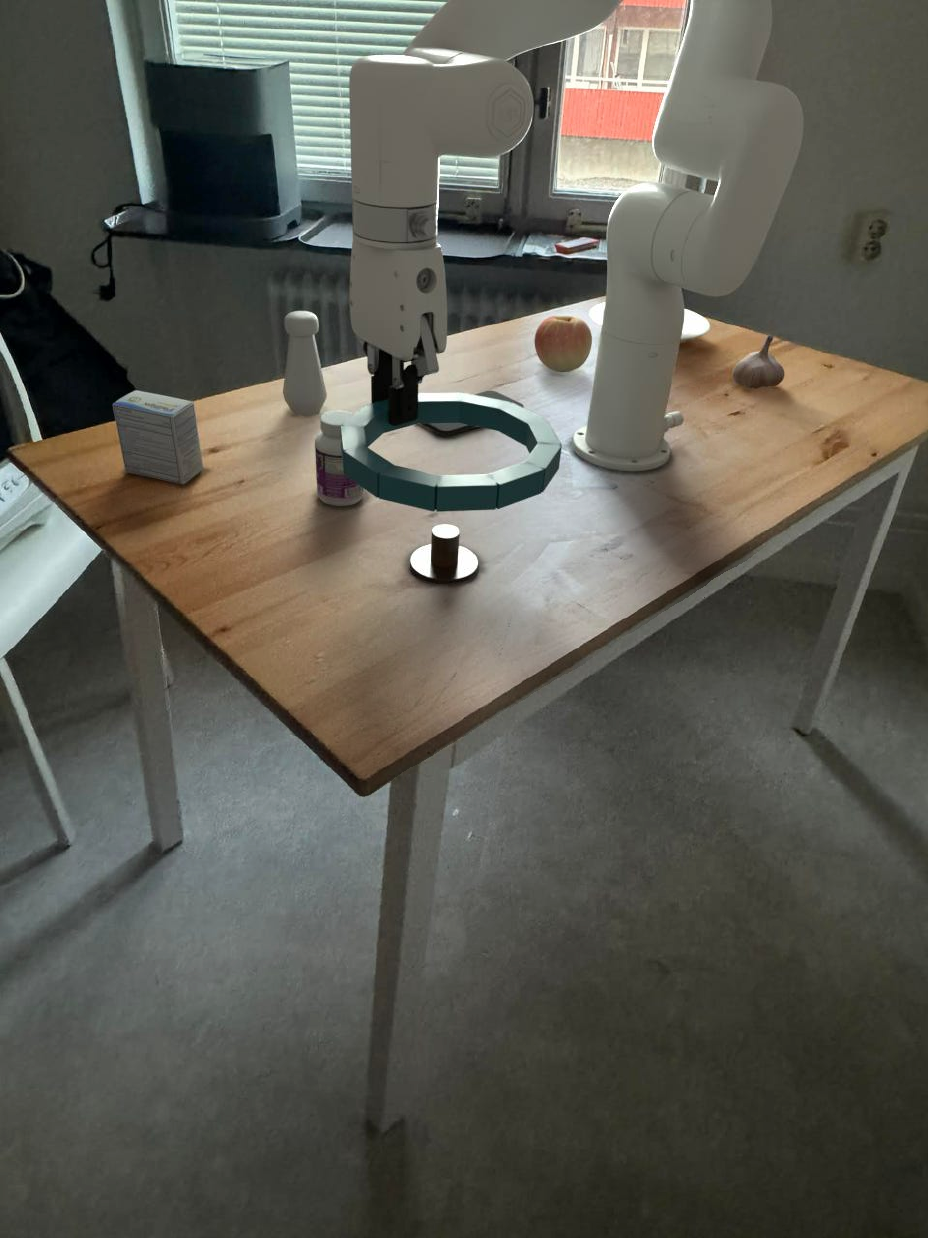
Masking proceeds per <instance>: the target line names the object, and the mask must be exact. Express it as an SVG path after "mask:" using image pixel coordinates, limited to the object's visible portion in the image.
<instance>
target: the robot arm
mask: <svg viewBox="0 0 928 1238" xmlns="http://www.w3.org/2000/svg"><path fill="white" fill-rule="evenodd" d="M623 1H624V0H447V1H446V2H445V3H444V4H443V5H442V6H441V7H440V8H439V9H438V10H437V11H436V12H435V14H433V16H432V17H431V18H430V19H429V20H428V22H426V24H425V25H424V26H423V27H422V28H421V29H420V31H419V32H418V33H416V35H415V36H414V38H413V39H412V40H411V41H410V42H409V44H408V46H406V48H405V49H404V50H403V52H402V54H401V55H398V54H396V55H394V54H373V55H365V56H362V57H359V58H358V59H357V60H355V61H354V62H353V64H352V66H351V68H350V71H349V77H348V78H349V79H348V80H349V81H348V91H349V92H348V93H349V94H348V98H349V136H350V137H349V138H350V140H349V141H350V176H351V177H350V179H351V180H350V181H351V184H350V185H351V212H352V213H351V218H352V243H351V252H350V268H349V292H348V293H349V317H350V325H351V330H352V331H353V335H354V337H355V338H356V340H357V341H358V342H359V343H360V345H361V346H362V349H363V352H364V353H365V355H366V358H367V359H366V360H367V361H366V362H367V372H368V373H369V375H370V392H371V393H370V398H371V400H370V401H371V403H375V402H379V401H382V400H386V399H389V424H391V425H392V426H397V425H401V424H404V423H408V422H411V421H415V420H416V419H417V418H418V393H419V385H420V384H422V383H423V380H424V377H425V376H429V375H434V374H437V373H439V371H440V365H439V361H438V357H437V355H440V354H443V353H445V352H446V349H447V343H448V342H447V340H448V303H447V302H448V299H447V281H446V270H445V263H444V257H443V256H444V255H443V250H442V245H441V244H440V243H438V219H439V217H438V215H439V192H440V191H439V190H440V189H439V187H440V158H441V157H442V156H443V155H450V156H451V155H452V156H462V157H463V156H464V157H470V158H479V159H489V158H490V159H491V158H496V157H500V156H502V155H504V154H507V153H509V152H510V151H511V150H513V149H515V148H516V147H517V146H518V145H519V144H520V143H521V142H522V141H523V140H524V138H525V136H527V133H528V132H529V130H530V128H531V124H532V122H533V118H534V105H535V104H534V95H533V91H532V89H531V86H530V84H529V82H528V80H527V78H526V76H524V74H523V73H522V72H521V71H520V70H519V69H518V68H517V67H515V66H514V65H513V64H511V63H510V62H508V61H509V60H511V59H513V58H515V57H516V56H519V55H521V54H523V53H525V52H528V51H531V50H533V49H537V48H541V47H543V46H548V45H552V44H556V43H560V42H563V41H566V40H570V39H573V38H575V37H578V36H580V35H583V34H585V33H587V32H590V31H592V30H594V29H596V28H598V27H600V26H601V25H603V24H604V23H605V22H606V21H607V20H608V19H609V18H610V17H611V16H612V15H613V14H614V12H615V11H616V9H617V8H618V7H619V6H620V5H621V4H622V3H623ZM772 28H773V6H772V0H690V8H689V15H688V21H687V24H686V28H685V31H684V34H683V37H682V41H681V45H680V48H679V51H678V54H677V56H676V59H675V62H674V66H673V69H672V71H671V74H670V78H669V81H668V84H667V87H666V90H665V93H664V95H663V99H662V102H661V105H660V108H659V112H658V114H657V117H656V121H655V125H654V129H653V134H652V149H653V153H654V156H655V157H656V159H657V160H658V161H659V163H661V164H662V165H663V166H664V167H665V166H666V167H668V168H670V169H673V170H675V171H678V172H681V173H685V174H688V175H689V176H694V177H697V178H701V179H705V180H708V181H709V180H710V181H713V182H718V185H717V187H716V191H715V194H714V195H713V194H709V193H705V192H700V191H698V190H695V189H691V188H686V187H685V188H683V187H679V186H675V185H671V184H666V183H662V182H659V181H651V182H650V181H648V182H643V183H638V184H636V185H633V186H632V187H631V186H630V188H628V189H627V190H625V191H624V192H623V193H622V194H621V195H620V196H619V198H618V199H617V200H616V201H615V203H614V205H613V206H612V209H611V211H610V214H609V217H608V220H607V226H606V236H605V237H606V239H605V241H606V244H605V245H606V265H607V271H606V273H607V274H606V275H607V277H606V292H605V301H604V303H605V308H604V316H603V322H602V326H601V328H600V329H601V330H600V335H599V336H600V337H599V340H598V341H599V343H598V349H597V355H596V361H595V367H594V368H595V369H594V375H593V383H592V390H591V395H590V403H589V409H588V414H587V415H588V416H587V421H586V422H587V423H586V425H585V426H583V427H581V428H579V429H578V430H576V431H575V432H574V433H573V437H572V444H571V445H572V449H573V451H574V452H575V453H576V455H578V456H579V457H580V458H582V459H583V460H585V461H587V462H588V463H591V464H593V465H595V466H598V467H602V468H605V469H608V470H609V469H610V470H614V471H622V472H643V471H650V470H654V469H657V468H659V467H662V466H664V464H666V463H667V462H668V460H669V459H670V455H671V446H670V444H669V442H668V441H667V440H666V439H665V435H666V433H667V432H668V431H669V430H670V429H673V428H675V427H678V426H681V425H683V423H684V415H683V413H682V412H681V411H679V410H677V411H673V412H669V413H667V408H668V403H669V399H670V393H671V388H672V383H673V379H674V374H675V369H676V364H677V359H678V356H679V355H678V353H679V349H680V344H681V343H680V340H681V336H682V331H683V325H684V315H685V311H684V309H685V301H684V300H685V299H684V295H683V290H682V289H684V290H687V291H690V292H693V293H697V294H700V295H703V296H707V297H713V298H714V297H716V298H717V297H725V296H727V295H730V294H732V293H733V292H735V291H736V290H737V289H738V288H739V287H740V286H741V285H742V284H743V283H744V282H745V281H746V279H747V278H748V276H749V275H750V273H751V272H752V270H753V267H754V266H755V264H756V263H757V260H758V258H759V256H760V253H761V251H762V248H763V246H764V243H765V241H766V239H767V236H768V233H769V231H770V229H771V226H772V223H773V221H774V218H775V216H776V213H777V211H778V208H779V207H780V204H781V202H782V199H783V196H784V194H785V191H786V189H787V186H788V184H789V181H790V178H791V177H792V174H793V172H794V169H795V166H796V164H797V160H798V157H799V155H800V151H801V147H802V141H803V138H804V137H803V136H804V126H805V125H804V123H805V122H804V111H803V107H802V104H801V102H800V100H799V98H798V97H797V94H796V93H794V92H793V91H792V90H791V89H790V88H788V87H786V86H784V85H782V84H779V83H775V82H772V81H771V82H770V81H765V80H757V77H758V74H759V71H760V68H761V64H762V62H763V58H764V55H765V52H766V49H767V47H768V45H769V41H770V37H771V33H772ZM409 362H410V364H408V365H406V367H405V363H409ZM371 403H370V404H371ZM666 413H667V414H666Z"/></svg>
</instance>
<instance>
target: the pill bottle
mask: <svg viewBox="0 0 928 1238" xmlns="http://www.w3.org/2000/svg"><path fill="white" fill-rule="evenodd" d="M354 414H355V413H353V412H352V411H347V410H342V409H341V410H340V409H337V410H329V411H327V412H324V413H322V414H321V415H320V417H319V429H320V432H318V434H316V437H315V439H314V453H315V473H316V475H315V476H316V477H315V478H316V491H317V496H318V498H319V500H321V502H323V503H324V504H326V505H329V506H335V507H348V506H349V507H350V506H352V505H355V504H357V503H358V502H360V501H361V500H362V499H363V498H364V496H365V489H364V488H362V487H361V486H360V485H358V484H357V483H355V482H354V481H353V480H351V479H350V478H348V477H347V476H346V475H345V474H344V470H343V461H342V451H341V429H340V426H341V424H343V423H344V422H345V421H346V420H348V419H349V418H350V417H351V416H353V415H354Z"/></svg>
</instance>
